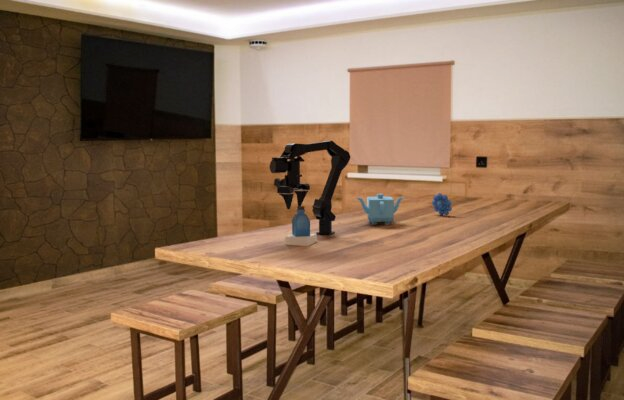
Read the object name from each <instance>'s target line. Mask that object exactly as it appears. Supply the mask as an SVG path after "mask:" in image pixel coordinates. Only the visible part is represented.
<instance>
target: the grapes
mask: <svg viewBox="0 0 624 400" xmlns="http://www.w3.org/2000/svg"><path fill="white" fill-rule="evenodd" d="M432 198H433V200H432V201H431V205H433V206H434V207H433V210H434V212H437V213H438V214H439V215H440V216H443V215H445V216H448V215H449V213H450V212H451V211H452V210H453V207H452V204H453V202H452V201H451V200H449V197H448V196H447V195H445V194H442V193H440V192H439V193H437V195H436V194H435V195H434V196H433V197H432Z"/></svg>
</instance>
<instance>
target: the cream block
mask: <svg viewBox="0 0 624 400" xmlns="http://www.w3.org/2000/svg"><path fill="white" fill-rule="evenodd" d="M317 235H318V234H316V233H311V232H310V236H301V237H295V236H294V235H293V234H292V233H290V234H288V235H286V236H285V238H284V241H285V243H284V245H287V246H298V247H299V246H304V247H310V246H311V245H313V244H315V243H317V240H318V238H317V237H318V236H317Z"/></svg>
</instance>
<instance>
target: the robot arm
mask: <svg viewBox="0 0 624 400" xmlns="http://www.w3.org/2000/svg"><path fill="white" fill-rule="evenodd" d="M319 151H326V152H327V154H328V155H329V156H330V157H331V158H330V159H331V160H330V165H331V166H330V167H331V168H330V171H329V174H328V176H327V179H326V183H325V185H324V188H323V189H322V193H321V196H320V197H319V198H315V199H314V201H313V205H312V206H311V208H312V210H311V211H312V214H313V215H314V216H315V220H318V231H317V232H315V234H317V235H325V236H328V235H329V236H330V235H333V234H335V233H336V232H335V231H333V229H332V226H333V225H332V224H333V223H332V222H335V220H336V215H335V214H334V213H333V212H332V207H333V206H332V204H333V203H332V200H333V199H332V198H333V196H334V193H335V190H336V188H337V185H338V182H339V180H340V177H341V174H342V171H343V170H344V169H345V168H346V167H347V166H348V164H349V162H350V160H351V155H350V153H349V151H348V150H345V148H343V147H341V146H340V145H339V144H337V143H336V142H335V141H333V140H330V139H329V140H324V141H317V142H309V143H293V142H292V143H287V144H286V145H285V146H284V150H283V152H282V153H281V155H280V157H276V156H275V157H274V156H273V157H271V160H270V163H269V171H270V173H272V174H285V173H286V174H285V175H284V178H279V177H278V178H275V179H274V180H273V181H274V182H273V186H275V188H276V193H277V194H278V195H279V196H281V197H282V198H283V201H284V204H285V206H286V209H287V210H290V209H291V207H292V203H293V199H294V194H296V201H297V206H303V205H302V204H303V202H304V200H305V198H306V196H307V194H308V193H309V191H310V189H311V185H310V184H309V183H307V182H306V183H304V182H301V178H303V174H301V162H303V163H304V162H305V159H304V158H302V156H304V155H305V154H307V153H312V152H313V153H314V152H319Z"/></svg>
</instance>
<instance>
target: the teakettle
mask: <svg viewBox="0 0 624 400" xmlns="http://www.w3.org/2000/svg"><path fill="white" fill-rule="evenodd" d="M405 198H406V197H405V196H404V197H402V196H401V197H398V198H397V199H396V201H395V199H394V198H393V197H391V196H384V193H377V194H376V196H367V199H366V200H367V203H365V200H364V198H362V197H355V200H356V199H357V200H358V201H359V202H360V204H361V207H362V210H363V212H364V213H365V214H367V219H368V221H369V223H370V226H371V225H372V226H373V225H374V226H375V225H377V224H378V223H379V222H381V223H384V224H385V225H387V226H389V225H392V223H391V222H395V218H394V217H395V213H396V212H397V211H398V210H399V207H400V203H401V201H402V200H403V199H405ZM366 204H367V205H366Z"/></svg>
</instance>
